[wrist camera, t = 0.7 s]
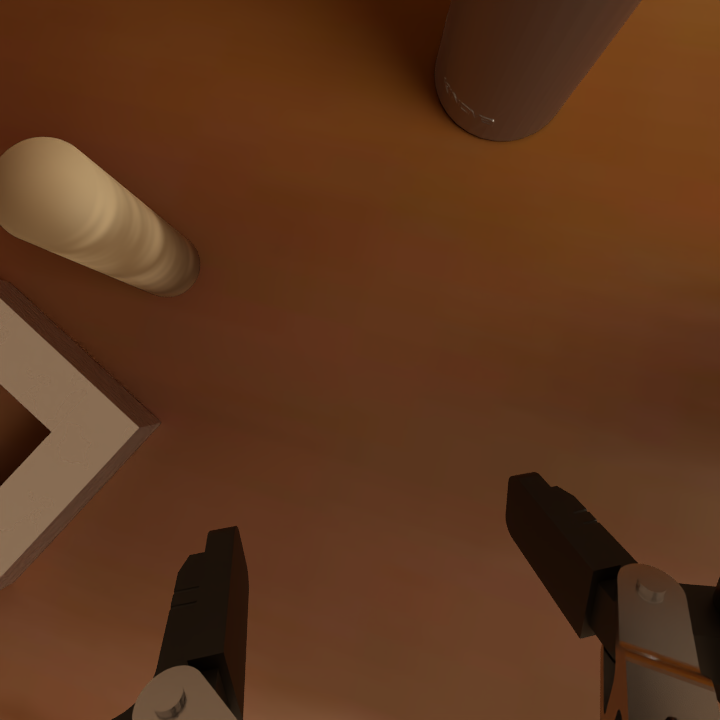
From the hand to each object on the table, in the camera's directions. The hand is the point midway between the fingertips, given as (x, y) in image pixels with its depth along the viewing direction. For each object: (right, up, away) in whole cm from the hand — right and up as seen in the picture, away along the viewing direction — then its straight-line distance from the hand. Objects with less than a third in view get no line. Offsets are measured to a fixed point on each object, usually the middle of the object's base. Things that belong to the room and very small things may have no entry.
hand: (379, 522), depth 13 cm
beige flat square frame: (-24, 0, +17) cm, 29 cm away
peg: (-14, +11, +17) cm, 25 cm away
